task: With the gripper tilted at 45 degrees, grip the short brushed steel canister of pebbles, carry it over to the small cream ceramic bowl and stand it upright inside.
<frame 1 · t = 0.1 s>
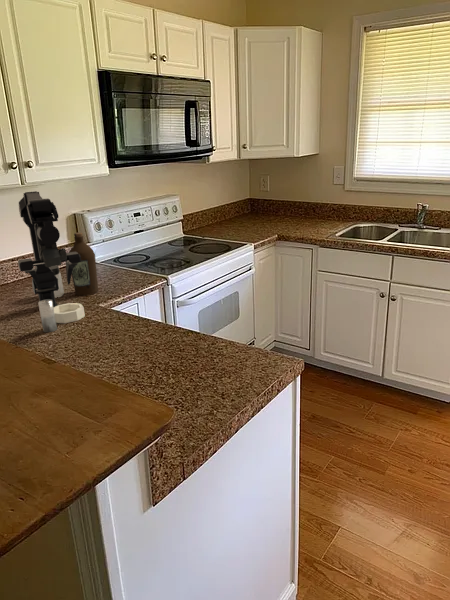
hand: (54, 286, 156), 15 cm above the worktop, tool pointing down, fingers open, 9 cm apart
bowl: (68, 317, 171), on the worktop
canister: (50, 329, 160), on the worktop
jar: (53, 296, 198), on the worktop
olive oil: (86, 292, 201), on the worktop
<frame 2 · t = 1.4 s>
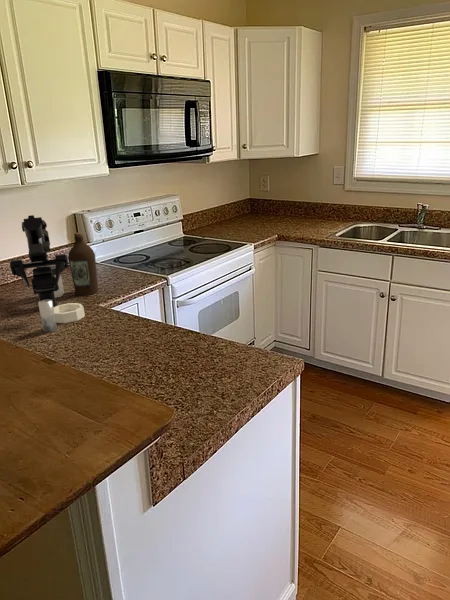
hand: (43, 285, 164), 14 cm above the worktop, tool tilted 45°, fingers open, 9 cm apart
nothing on the worktop moved.
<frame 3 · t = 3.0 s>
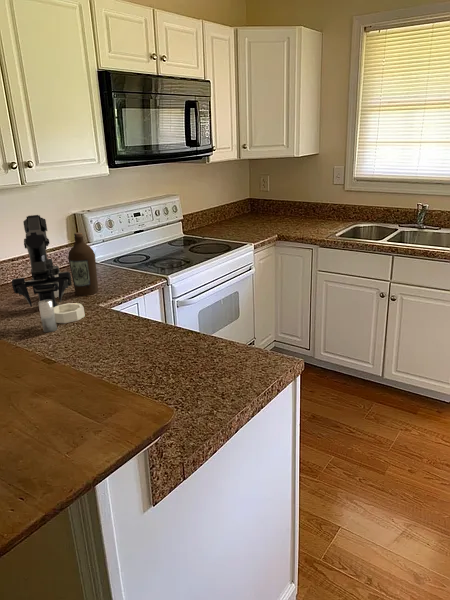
hand: (45, 303, 159), 9 cm above the worktop, tool tilted 45°, fingers open, 9 cm apart
nothing on the worktop moved.
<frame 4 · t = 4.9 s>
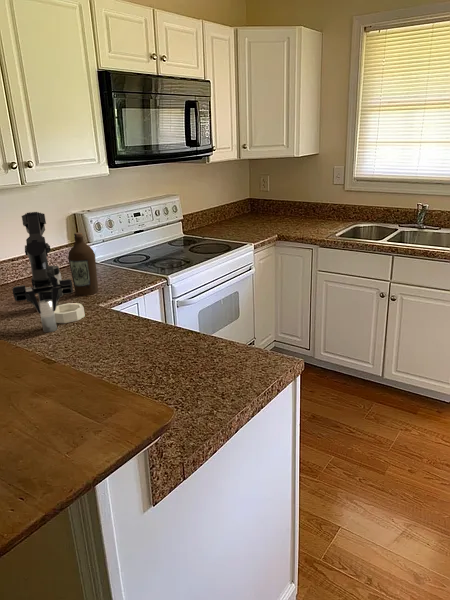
hand: (47, 311, 158), 7 cm above the worktop, tool tilted 45°, fingers closed on canister, 4 cm apart
canister: (50, 329, 160), on the worktop, touching gripper
everything else where it was.
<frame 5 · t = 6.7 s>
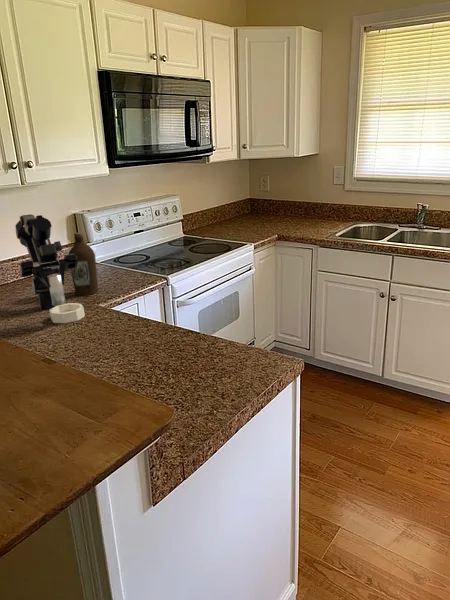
hand: (56, 285, 162), 14 cm above the worktop, tool tilted 45°, fingers closed on canister, 4 cm apart
canister: (58, 303, 164), point 7 cm above the worktop, touching gripper
everything else where it was.
when the fingers open (9 cm above the worktop, at t = 9.0 s): canister drops 1 cm, resting on bowl.
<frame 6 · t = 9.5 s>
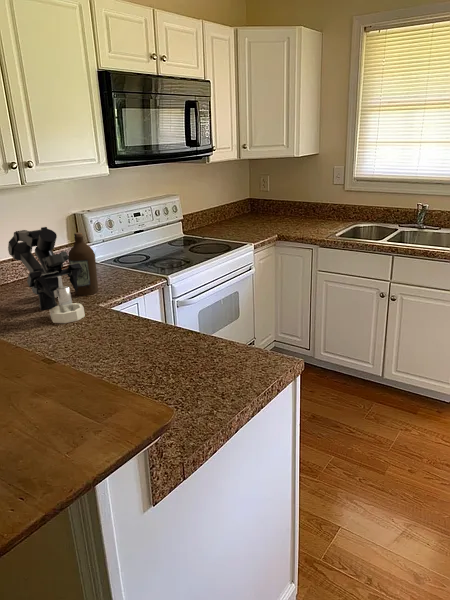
hand: (64, 293, 168), 9 cm above the worktop, tool tilted 45°, fingers open, 9 cm apart
canister: (67, 314, 171), point 1 cm above the worktop, touching bowl
everything else where it was.
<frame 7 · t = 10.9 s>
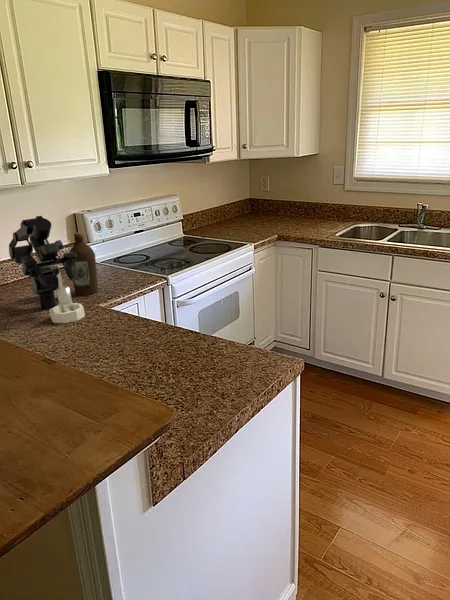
hand: (59, 282, 170), 12 cm above the worktop, tool tilted 45°, fingers open, 9 cm apart
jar: (53, 296, 198), on the worktop, touching arm
everything else where it was.
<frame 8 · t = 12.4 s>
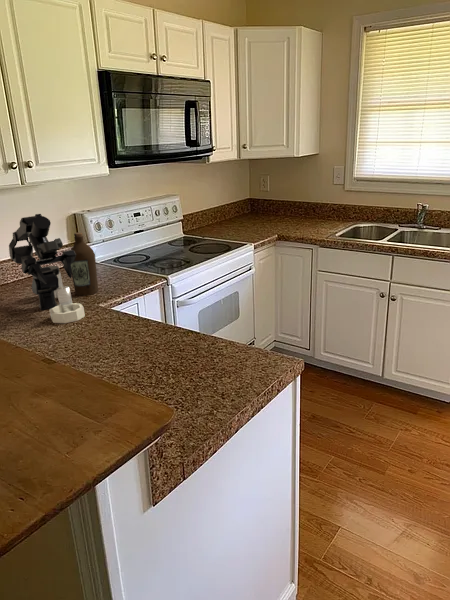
hand: (58, 280, 170), 13 cm above the worktop, tool tilted 45°, fingers open, 9 cm apart
nothing on the worktop moved.
at the end: canister 0.1 cm off-centre on the bowl, point 1.0 cm above the bowl's base; canister tilted 0°; the gripper is holding nothing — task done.
